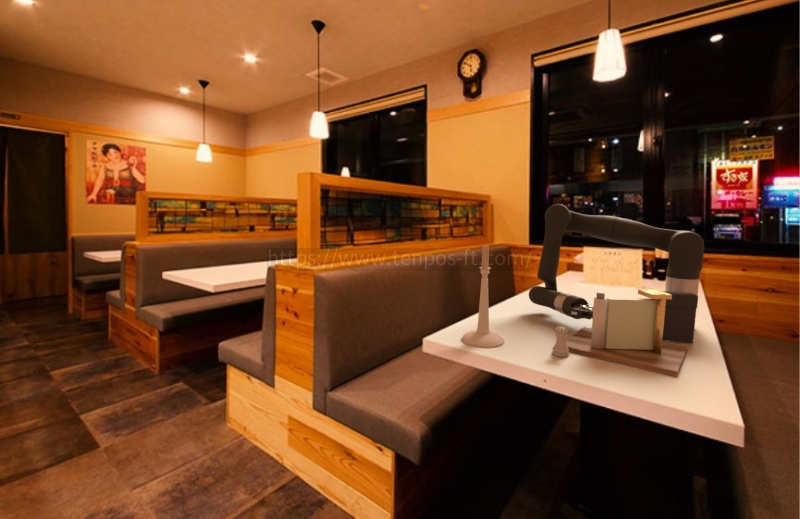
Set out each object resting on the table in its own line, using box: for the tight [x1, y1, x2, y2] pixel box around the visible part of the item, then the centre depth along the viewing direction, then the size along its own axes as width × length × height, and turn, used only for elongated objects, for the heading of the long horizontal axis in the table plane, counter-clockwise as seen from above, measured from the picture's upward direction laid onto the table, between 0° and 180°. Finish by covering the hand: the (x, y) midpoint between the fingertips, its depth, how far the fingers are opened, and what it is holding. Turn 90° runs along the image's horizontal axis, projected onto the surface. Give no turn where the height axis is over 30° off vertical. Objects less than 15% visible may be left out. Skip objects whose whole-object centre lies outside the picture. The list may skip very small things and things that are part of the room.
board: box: [566, 326, 689, 377], centre depth 109 cm, size 24×28×1 cm
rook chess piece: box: [551, 325, 570, 358], centre depth 105 cm, size 4×4×8 cm
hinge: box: [591, 292, 657, 350], centre depth 106 cm, size 18×3×16 cm, turn 85°
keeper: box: [637, 288, 672, 354], centre depth 106 cm, size 7×5×18 cm
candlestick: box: [461, 244, 505, 349], centre depth 115 cm, size 13×13×30 cm
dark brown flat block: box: [662, 290, 699, 344], centre depth 117 cm, size 11×4×15 cm, turn 71°
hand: (608, 318), depth 116 cm, fingers closed
